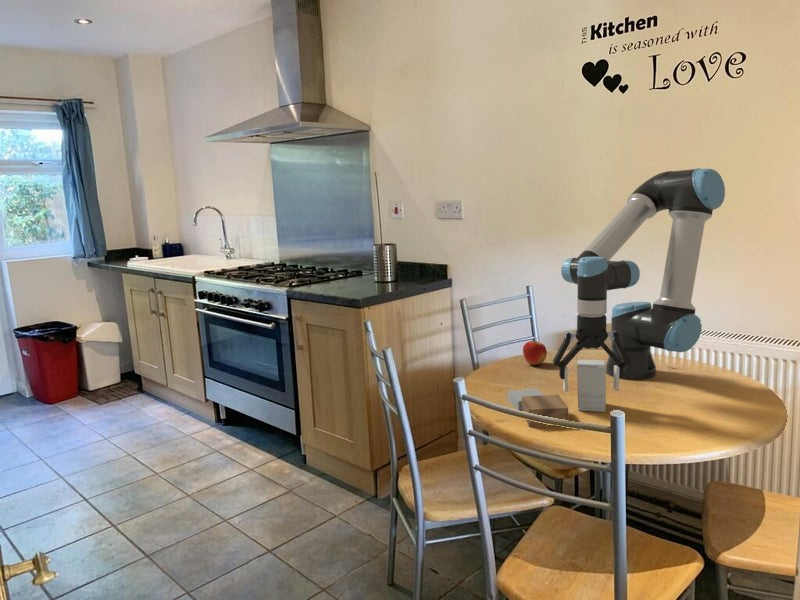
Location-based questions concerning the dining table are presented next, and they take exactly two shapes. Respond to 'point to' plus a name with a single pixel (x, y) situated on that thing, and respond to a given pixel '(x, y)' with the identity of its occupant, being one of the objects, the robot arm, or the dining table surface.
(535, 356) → the apple
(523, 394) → the slate coaster
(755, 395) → the dining table surface
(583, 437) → the dining table surface
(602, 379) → the supplement box
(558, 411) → the walnut block
